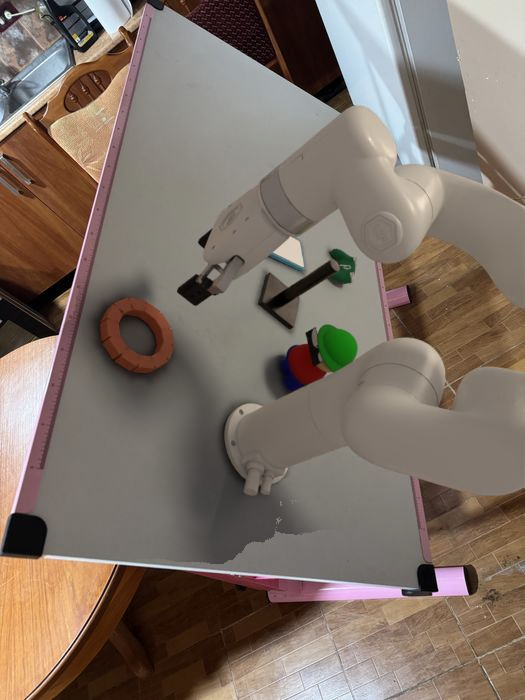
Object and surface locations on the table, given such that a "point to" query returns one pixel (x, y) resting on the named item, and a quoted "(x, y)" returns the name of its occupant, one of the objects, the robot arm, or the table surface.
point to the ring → (118, 346)
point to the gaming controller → (344, 266)
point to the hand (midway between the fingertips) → (196, 272)
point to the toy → (318, 356)
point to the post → (292, 292)
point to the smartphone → (290, 253)
